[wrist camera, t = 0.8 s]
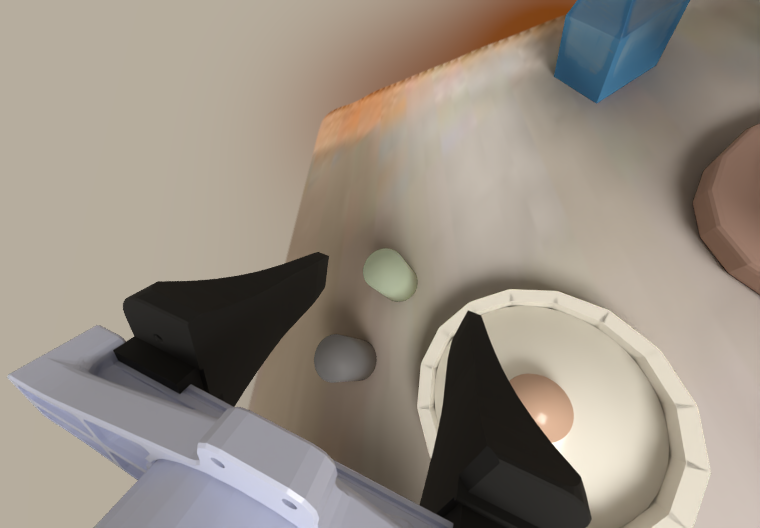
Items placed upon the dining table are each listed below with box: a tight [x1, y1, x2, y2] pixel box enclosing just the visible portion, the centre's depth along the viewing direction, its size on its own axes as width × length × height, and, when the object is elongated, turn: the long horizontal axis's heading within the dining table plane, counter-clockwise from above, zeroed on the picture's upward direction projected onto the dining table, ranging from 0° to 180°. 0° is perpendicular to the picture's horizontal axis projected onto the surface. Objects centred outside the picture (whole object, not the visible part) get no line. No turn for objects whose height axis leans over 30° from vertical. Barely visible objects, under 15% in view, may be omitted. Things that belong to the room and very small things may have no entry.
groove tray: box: [417, 289, 711, 528], centre depth 20 cm, size 17×17×2 cm
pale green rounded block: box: [363, 248, 418, 302], centre depth 27 cm, size 4×4×5 cm
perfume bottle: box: [554, 0, 690, 103], centre depth 24 cm, size 6×6×12 cm
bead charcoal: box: [314, 334, 376, 382], centre depth 26 cm, size 4×4×5 cm
